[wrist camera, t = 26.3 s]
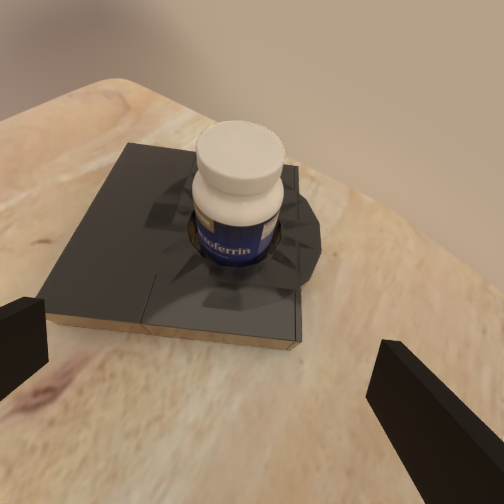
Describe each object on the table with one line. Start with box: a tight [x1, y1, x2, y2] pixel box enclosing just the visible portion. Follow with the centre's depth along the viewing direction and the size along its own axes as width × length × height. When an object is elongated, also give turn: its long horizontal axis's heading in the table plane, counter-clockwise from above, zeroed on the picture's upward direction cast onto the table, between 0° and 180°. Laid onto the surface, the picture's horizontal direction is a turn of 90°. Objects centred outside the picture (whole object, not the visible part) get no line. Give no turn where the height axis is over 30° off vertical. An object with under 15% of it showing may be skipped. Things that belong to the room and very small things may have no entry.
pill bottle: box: [192, 120, 285, 268], centre depth 17 cm, size 6×6×10 cm
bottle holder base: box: [36, 143, 322, 351], centre depth 20 cm, size 18×16×3 cm
